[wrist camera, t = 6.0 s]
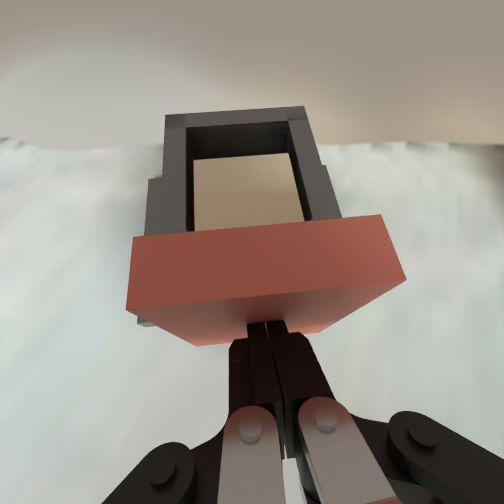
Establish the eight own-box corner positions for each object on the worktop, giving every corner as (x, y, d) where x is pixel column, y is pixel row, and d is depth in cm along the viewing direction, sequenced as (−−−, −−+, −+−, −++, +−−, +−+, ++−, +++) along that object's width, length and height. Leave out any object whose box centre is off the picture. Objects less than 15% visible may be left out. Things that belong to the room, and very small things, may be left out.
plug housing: (321, 175, 22) (348, 103, 16) (359, 303, 17) (417, 266, 11) (154, 189, 21) (117, 118, 15) (144, 326, 16) (86, 300, 10)
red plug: (291, 203, 18) (324, 70, 10) (319, 332, 15) (406, 279, 6) (194, 212, 18) (148, 80, 10) (196, 346, 14) (125, 310, 6)
